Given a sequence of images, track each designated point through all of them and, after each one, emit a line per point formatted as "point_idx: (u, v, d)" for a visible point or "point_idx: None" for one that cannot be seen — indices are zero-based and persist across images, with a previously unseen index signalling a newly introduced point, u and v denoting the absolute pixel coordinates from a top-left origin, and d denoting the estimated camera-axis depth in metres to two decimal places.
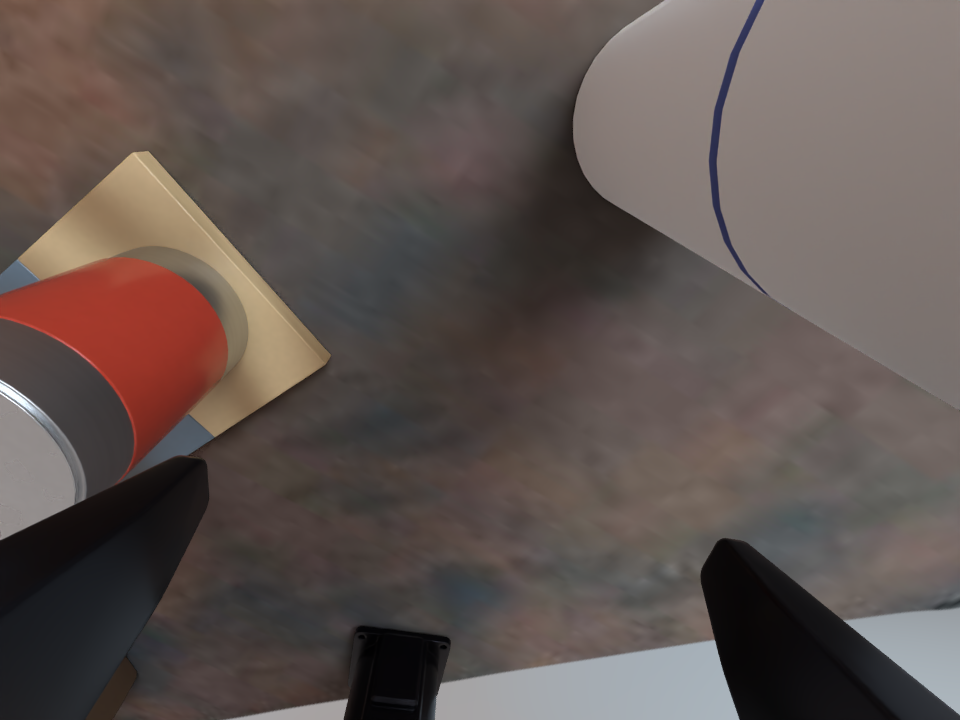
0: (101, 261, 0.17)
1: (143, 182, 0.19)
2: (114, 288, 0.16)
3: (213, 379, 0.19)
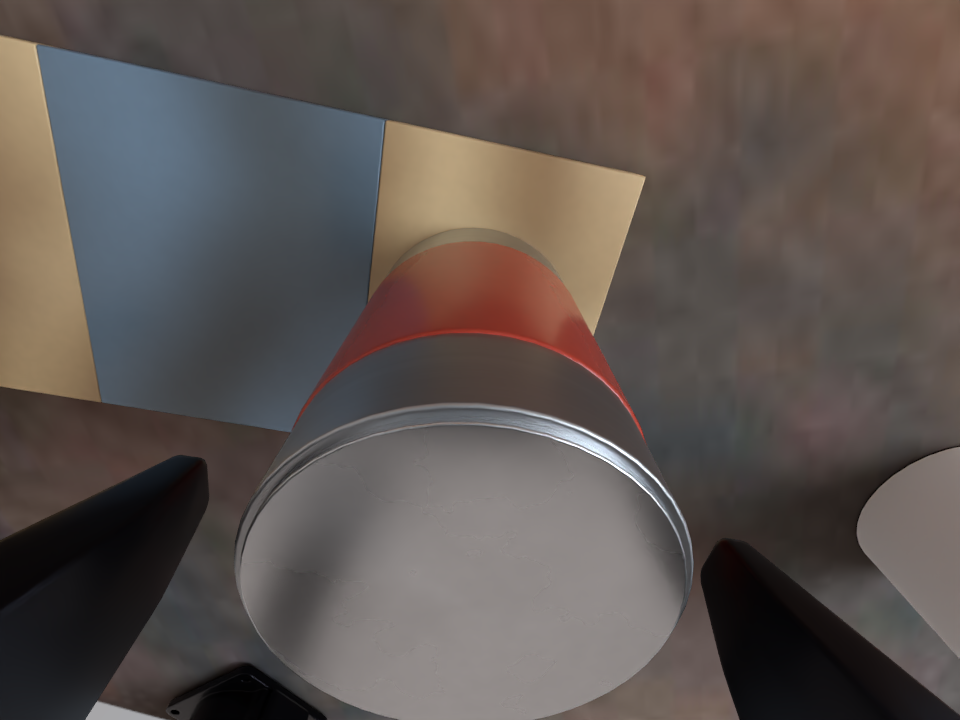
0: (552, 276, 0.12)
1: (617, 207, 0.14)
2: None
3: None
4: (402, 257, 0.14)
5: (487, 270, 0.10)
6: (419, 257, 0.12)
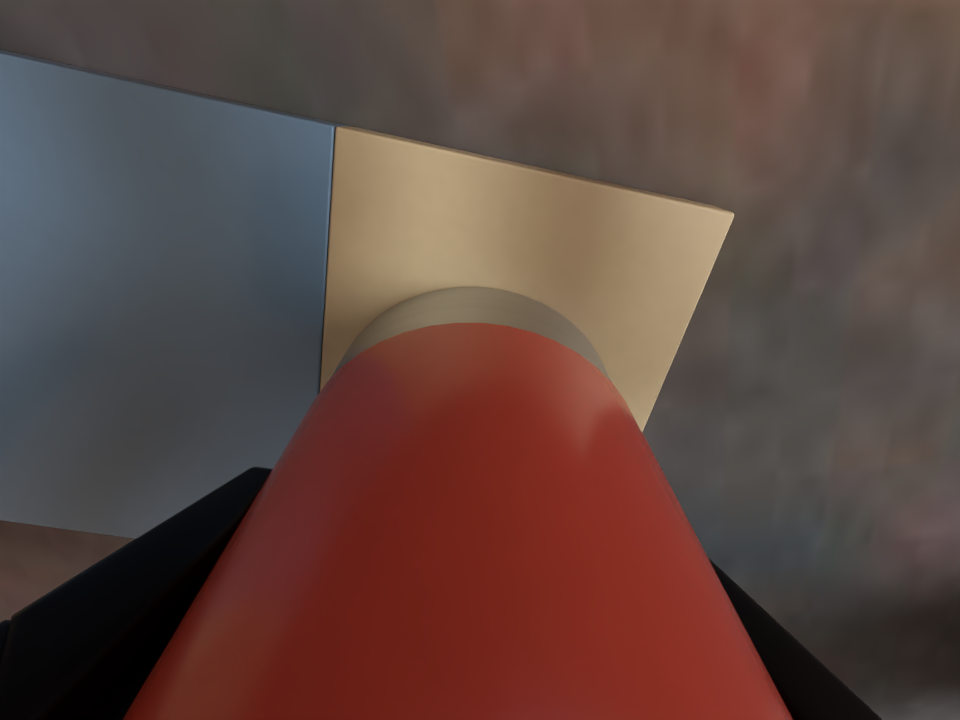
0: (601, 381, 0.07)
1: (689, 257, 0.09)
2: None
3: None
4: (365, 331, 0.09)
5: (498, 412, 0.05)
6: (383, 354, 0.07)
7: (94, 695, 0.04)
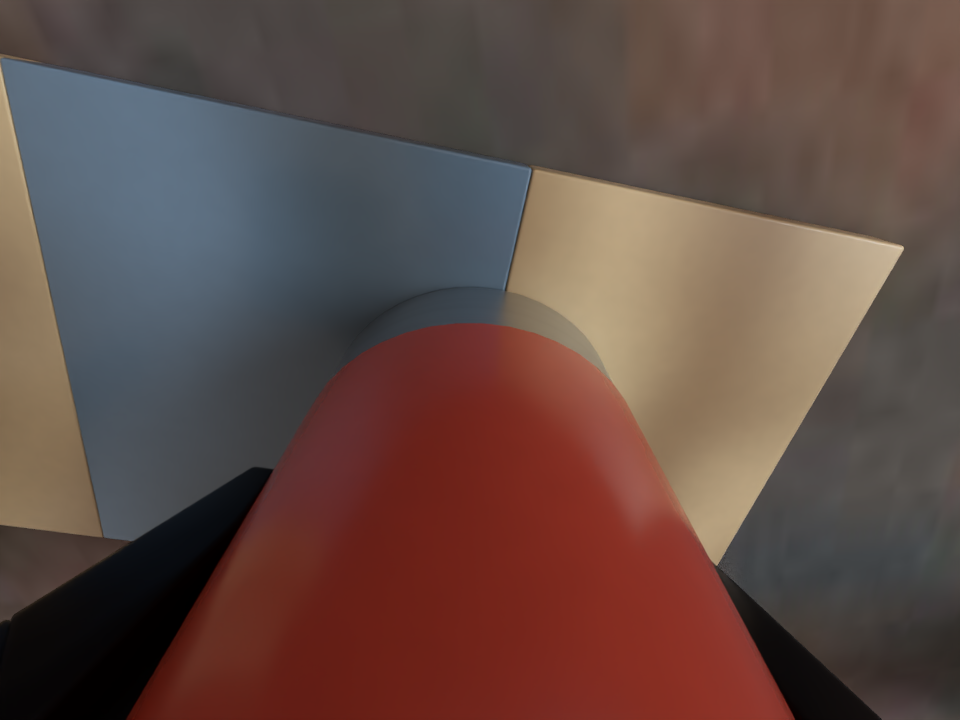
0: (601, 381, 0.07)
1: (854, 288, 0.10)
2: None
3: None
4: (365, 332, 0.09)
5: (499, 413, 0.05)
6: (383, 354, 0.07)
7: (94, 696, 0.04)
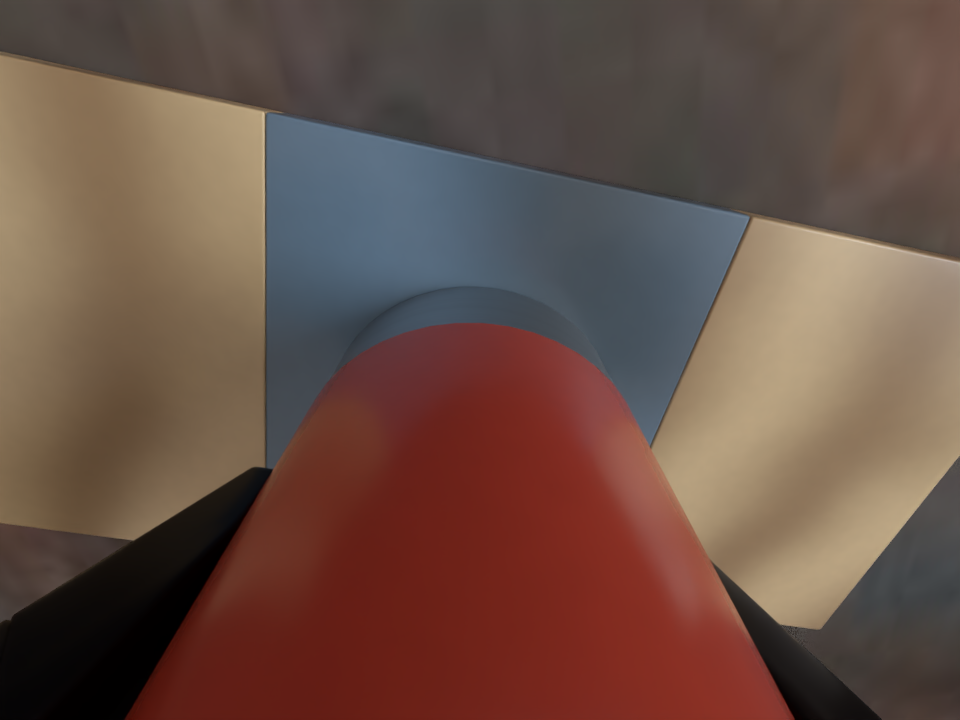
0: (601, 381, 0.07)
1: None
2: None
3: None
4: (365, 332, 0.09)
5: (499, 413, 0.05)
6: (383, 354, 0.07)
7: (94, 695, 0.04)
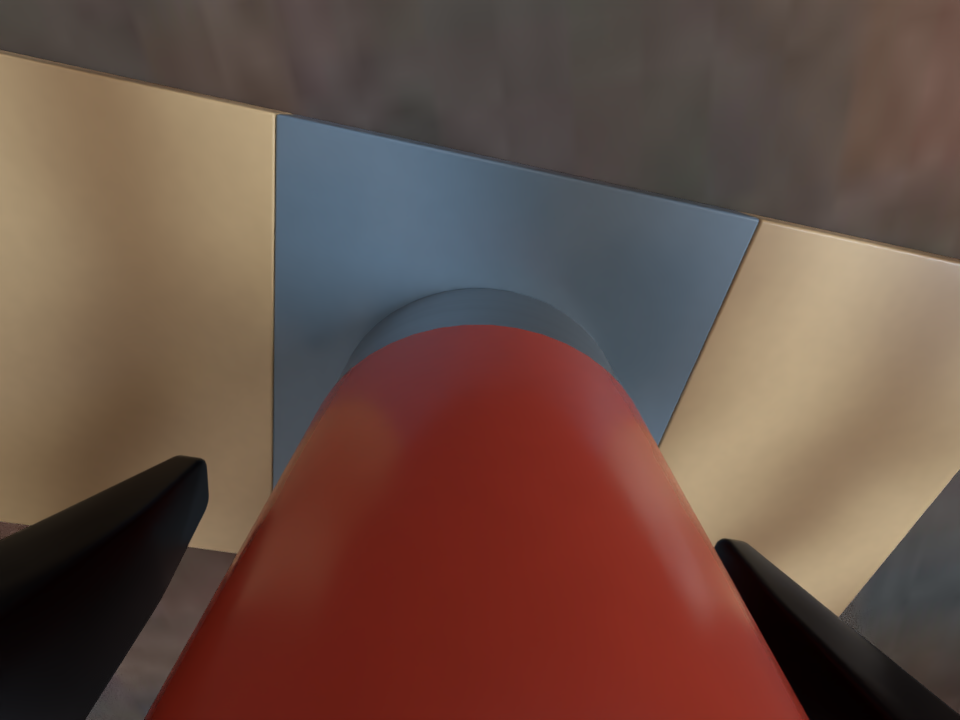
0: (610, 383, 0.07)
1: None
2: None
3: None
4: (373, 333, 0.09)
5: (512, 415, 0.05)
6: (392, 356, 0.07)
7: None
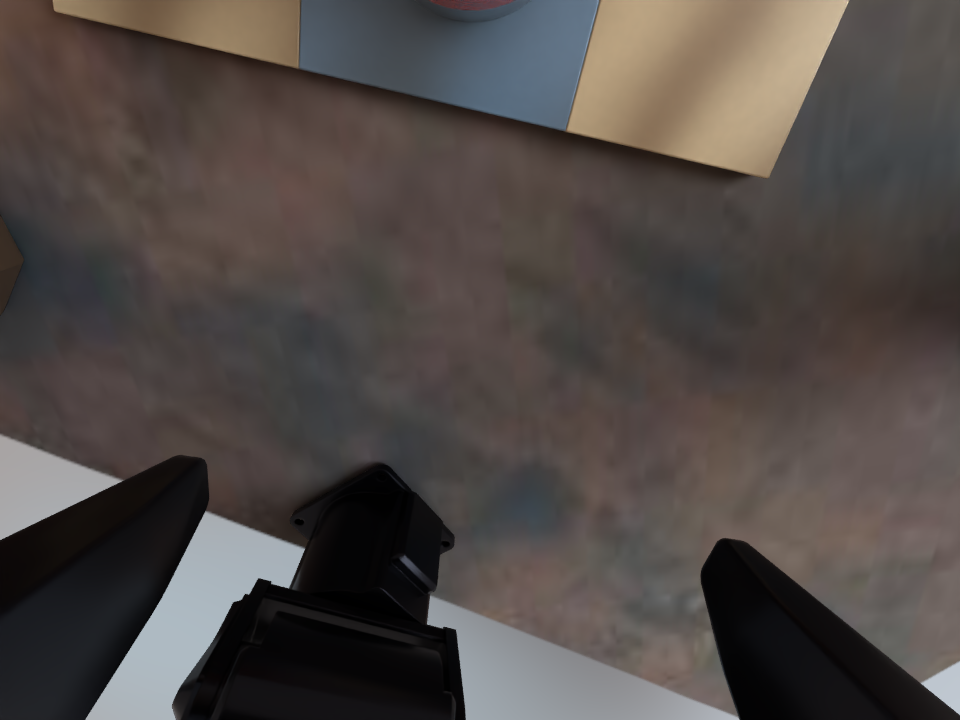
0: None
1: None
2: None
3: None
4: None
5: None
6: None
7: None
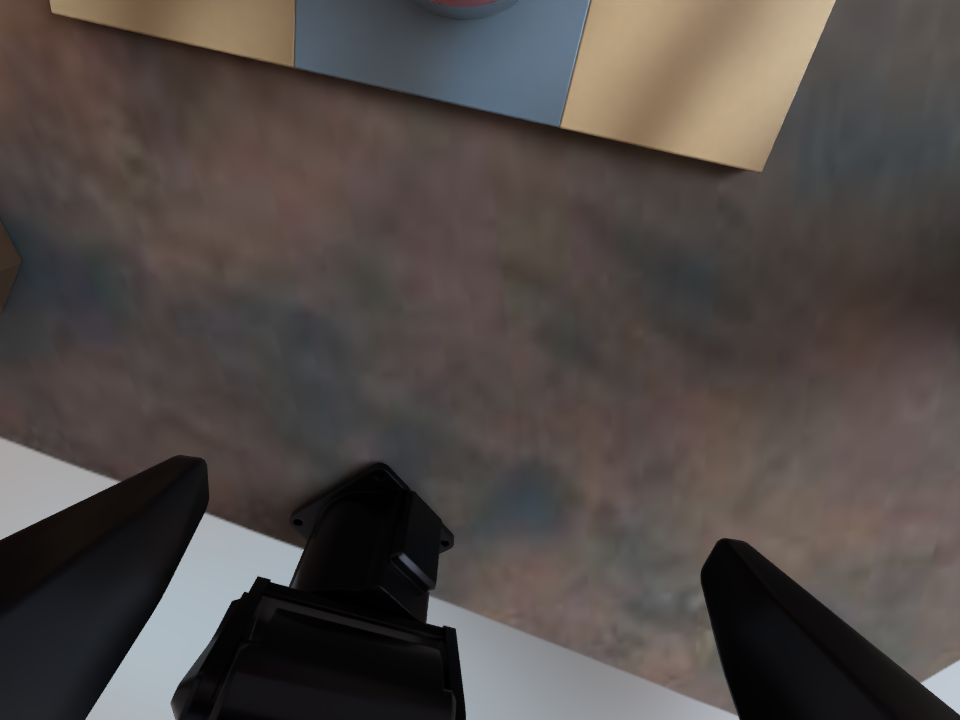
0: None
1: None
2: None
3: None
4: None
5: None
6: None
7: None
